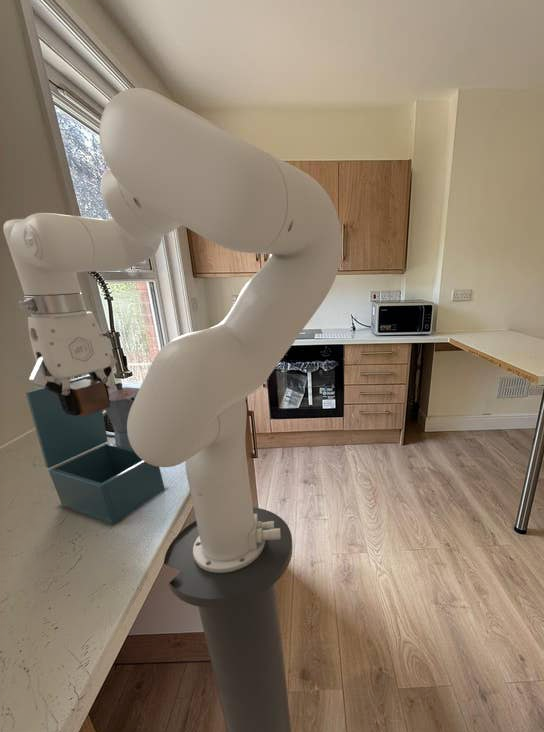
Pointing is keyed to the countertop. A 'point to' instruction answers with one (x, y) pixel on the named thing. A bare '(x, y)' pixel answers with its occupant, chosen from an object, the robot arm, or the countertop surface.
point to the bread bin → (106, 482)
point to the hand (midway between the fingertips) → (88, 407)
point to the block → (90, 396)
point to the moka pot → (120, 411)
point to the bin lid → (63, 426)
